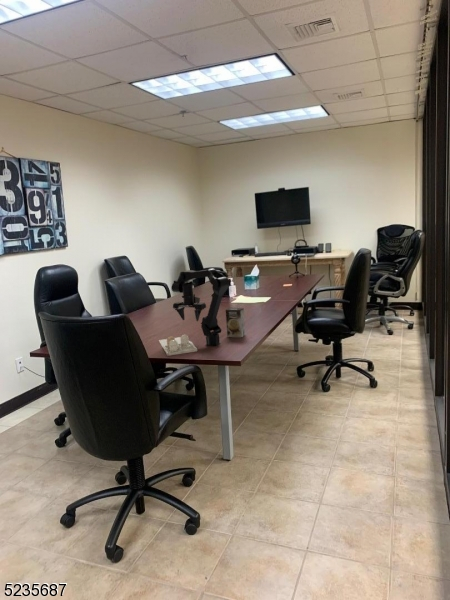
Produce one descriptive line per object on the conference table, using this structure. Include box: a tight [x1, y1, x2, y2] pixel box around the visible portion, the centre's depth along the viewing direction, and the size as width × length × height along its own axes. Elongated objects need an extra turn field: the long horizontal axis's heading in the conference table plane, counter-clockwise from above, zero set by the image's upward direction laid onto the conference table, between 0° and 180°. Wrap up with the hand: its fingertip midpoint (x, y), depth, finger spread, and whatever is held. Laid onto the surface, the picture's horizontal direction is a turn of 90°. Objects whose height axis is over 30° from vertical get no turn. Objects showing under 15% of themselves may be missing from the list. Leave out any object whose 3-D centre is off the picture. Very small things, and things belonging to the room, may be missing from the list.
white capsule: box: [169, 340, 178, 353], centre depth 233 cm, size 4×4×7 cm
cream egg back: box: [180, 334, 190, 347], centre depth 242 cm, size 4×4×7 cm
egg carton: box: [158, 336, 198, 357], centre depth 245 cm, size 32×16×2 cm, turn 16°
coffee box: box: [225, 307, 246, 338], centre depth 256 cm, size 9×6×16 cm
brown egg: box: [166, 336, 176, 349], centre depth 240 cm, size 4×4×7 cm
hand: (190, 320), depth 251 cm, fingers open, 9 cm apart
